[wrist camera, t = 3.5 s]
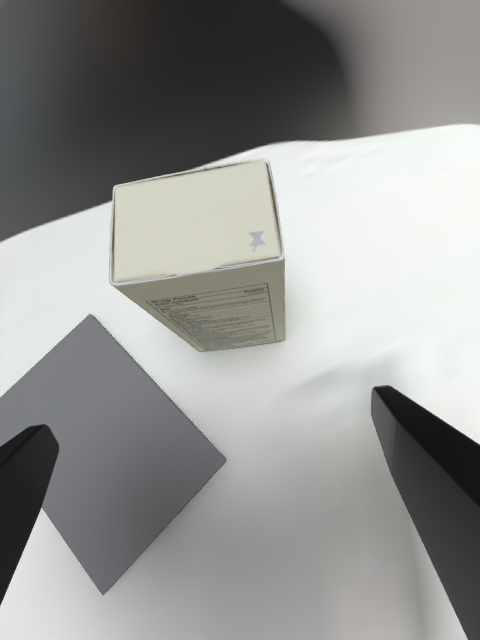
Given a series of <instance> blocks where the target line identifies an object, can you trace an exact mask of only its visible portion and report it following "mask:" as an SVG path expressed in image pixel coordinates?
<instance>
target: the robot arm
mask: <svg viewBox="0 0 480 640" xmlns="http://www.w3.org/2000/svg"><path fill="white" fill-rule="evenodd" d="M371 416H372V419H373V422H374V425H375V428H376V431H377V434H378V437H379V440H380V443H381V446H382V449H383V452H384V455H385V458H386V461H387V464H388V467H389V470H390V472H391V475H392V477H393V479H394V482H395V484H396V486H397V488H398V490H399V493H400V495H401V497H402V499H403V501H404V503H405V505H406V508H407V510H408V512H409V514H410V516H411V518H412V521H413V523H414V525H415V527H416V529H417V531H418V533H419V536H420V538H421V540H422V542H423V544H424V546H425V548H426V551H427V553H428V555H429V557H430V559H431V561H432V563H433V566H434V568H435V570H436V572H437V574H438V576H439V578H440V581H441V583H442V585H443V587H444V589H445V591H446V593H447V596H448V598H449V600H450V602H451V604H452V606H453V608H454V611H455V613H456V615H457V617H458V619H459V621H460V623H461V626H462V628H463V630H464V632H465V634H466V636H467V639H468V640H480V444H478V443H476V442H475V441H473V440H472V439H470V438H469V437H467V436H466V435H464V434H463V433H461V432H460V431H458V430H457V429H455V428H454V427H452V426H451V425H449V424H448V423H446V422H445V421H443V420H442V419H440V418H439V417H437V416H435V415H434V414H432V413H431V412H429V411H428V410H426V409H425V408H423V407H422V406H420V405H419V404H417V403H416V402H414V401H413V400H411V399H410V398H408V397H407V396H405V395H404V394H402V393H401V392H399V391H397V390H396V389H394V388H393V387H391V386H389V385H383V386H375V387H373V389H372V397H371ZM58 454H59V443H58V441H57V439H56V438H55V436H54V434H53V433H52V431H51V429H50V427H49V426H48V425H46V424H37V425H31V426H29V427H27V428H26V429H24V430H23V431H22V432H20V433H19V434H17V435H16V436H15V437H13V438H12V439H10V440H9V441H7V442H6V443H5V444H3V445H2V446H0V605H1V603H2V601H3V598H4V596H5V594H6V591H7V589H8V586H9V584H10V582H11V579H12V577H13V574H14V572H15V570H16V567H17V565H18V563H19V560H20V558H21V555H22V553H23V551H24V548H25V546H26V543H27V541H28V539H29V536H30V534H31V532H32V529H33V527H34V524H35V522H36V520H37V517H38V515H39V512H40V510H41V507H42V504H43V501H44V498H45V495H46V492H47V489H48V486H49V483H50V479H51V476H52V473H53V470H54V467H55V464H56V460H57V457H58Z"/></svg>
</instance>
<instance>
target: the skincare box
mask: <svg viewBox="0 0 480 640" xmlns="http://www.w3.org/2000/svg"><path fill="white" fill-rule="evenodd" d="M110 236H111V237H110V257H109V282H110V284H111V285H112V286H114V287H115V288H116V289H117V290H119V291H120V292H121V293H123V294H124V295H126V296H127V297H128V298H129V299H131V300H132V301H134V302H135V303H136V304H137V305H139V306H140V307H141V308H143V309H144V310H145V311H147V312H148V313H149V314H150V315H152V316H153V317H154V318H156V319H157V320H158V321H160V322H161V323H162V324H164V325H165V326H166V327H167V328H169V329H170V330H171V331H173V332H174V333H176V334H177V335H178V336H179V337H181V338H182V339H183V340H185V341H186V342H187V343H189V344H190V345H191V346H193V347H194V348H195V349H197V350H198V351H212V350H221V349H230V348H238V347H245V346H253V345H259V344H266V343H272V342H278V341H283V340H285V257H284V248H283V240H282V232H281V225H280V218H279V211H278V204H277V198H276V192H275V187H274V181H273V177H272V172H271V167H270V163H269V160H268V159H266V158H261V159H256V160H247V161H241V162H233V163H228V164H222V165H216V166H211V167H205V168H200V169H194V170H189V171H184V172H179V173H174V174H168V175H163V176H158V177H153V178H148V179H145V180H139V181H134V182H131V183H125V184H120V185H116V186H114V188H113V203H112V218H111V233H110Z"/></svg>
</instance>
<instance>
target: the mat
mask: <svg viewBox="0 0 480 640" xmlns="http://www.w3.org/2000/svg"><path fill="white" fill-rule="evenodd" d="M37 424H46V425H48V426H49V427H50V429H51V431H52V433H53V434H54V436H55V438H56V439H57V441H58V443H59V454H58V457H57V460H56V464H55V467H54V470H53V473H52V476H51V479H50V483H49V486H48V489H47V492H46V495H45V498H44V501H43V504H42V508H43V510H44V511H45V513H46V514H47V515H48V517H49V518H50V520H51V521H52V523H53V524H54V526H55V527H56V529H57V530H58V531H59V533H60V534H61V536H62V537H63V539H64V540H65V542H66V543H67V544H68V546H69V547H70V549H71V550H72V552H73V553H74V555H75V556H76V558H77V559H78V560H79V562H80V563H81V565H82V566H83V568H84V569H85V571H86V572H87V573H88V575H89V576H90V578H91V579H92V581H93V582H94V584H95V585H96V587H97V588H98V589H99V591H100V592H101V594H102V595H104V594H105V593H106V592H107V591H108V589H109V588H110V587H111V586H112V585H113V584H114V583H115V582H116V581H117V580H118V578H119V577H120V576H121V575H122V574H123V573H124V572H125V571H126V570H127V569H128V567H129V566H130V565H131V564H132V563H133V562H134V561H135V560H136V559H137V558H138V556H139V555H140V554H141V553H142V552H143V551H144V550H145V549H146V548H147V547H148V545H149V544H150V543H151V542H152V541H153V540H154V539H155V538H156V537H157V536H158V534H159V533H160V532H161V531H162V530H163V529H164V528H165V527H166V526H167V525H168V524H169V522H170V521H171V520H172V519H173V518H174V517H175V516H176V515H177V514H178V513H179V511H180V510H181V509H182V508H183V507H184V506H185V505H186V504H187V503H188V502H189V500H190V499H191V498H192V497H193V496H194V495H195V494H196V493H197V492H198V491H199V489H200V488H201V487H202V486H203V485H204V484H205V483H206V482H207V481H208V480H209V478H210V477H211V476H212V475H213V474H214V473H215V472H216V471H217V470H218V469H219V467H220V466H221V465H222V464H223V463H224V462H225V461H226V459H225V458H224V457H223V456H222V455H221V453H220V452H219V451H218V450H217V449H216V448H215V447H214V446H213V445H212V444H211V443H210V442H209V440H208V439H207V438H206V437H205V436H204V435H203V434H202V433H201V432H200V431H199V430H198V429H197V428H196V426H195V425H194V424H193V423H192V422H191V421H190V420H189V419H188V418H187V417H186V416H185V415H184V413H183V412H182V411H181V410H180V409H179V408H178V407H177V406H176V405H175V404H174V403H173V402H172V400H171V399H170V398H169V397H168V396H167V395H166V394H165V393H164V392H163V391H162V390H161V389H160V388H159V386H158V385H157V384H156V383H155V382H154V381H153V380H152V379H151V378H150V377H149V376H148V375H147V373H146V372H145V371H144V370H143V369H142V368H141V367H140V366H139V365H138V364H137V363H136V362H135V361H134V359H133V358H132V357H131V356H130V355H129V354H128V353H127V352H126V351H125V350H124V349H123V348H122V346H121V345H120V344H119V343H118V342H117V341H116V340H115V339H114V338H113V337H112V336H111V335H110V333H109V332H108V331H107V330H106V329H105V328H104V327H103V326H102V325H101V324H100V323H99V322H98V321H97V319H96V318H95V317H94V316H93V315H91V314H89V315H88V316H87V317H86V318H85V319H84V320H83V321H82V322H80V323H79V324H78V325H77V326H76V327H75V328H74V329H73V330H72V331H71V332H70V333H69V334H68V335H67V336H66V337H64V338H63V339H62V340H61V341H60V342H59V343H58V344H57V345H56V346H55V347H54V348H53V349H52V350H51V351H50V352H48V353H47V354H46V355H45V356H44V357H43V358H42V359H41V360H40V361H39V362H38V363H37V364H36V365H35V366H34V367H32V368H31V369H30V370H29V371H28V372H27V373H26V374H25V375H24V376H23V377H22V378H21V379H20V380H19V381H18V382H16V383H15V384H14V385H13V386H12V387H11V388H10V389H9V390H8V391H7V392H6V393H5V394H4V395H3V396H2V397H0V446H2V445H3V444H5V443H6V442H7V441H9V440H10V439H12V438H13V437H15V436H16V435H17V434H19V433H20V432H22V431H23V430H24V429H26V428H27V427H29V426H31V425H37Z"/></svg>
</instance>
